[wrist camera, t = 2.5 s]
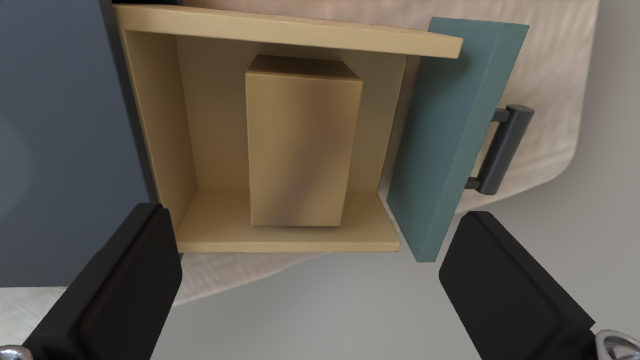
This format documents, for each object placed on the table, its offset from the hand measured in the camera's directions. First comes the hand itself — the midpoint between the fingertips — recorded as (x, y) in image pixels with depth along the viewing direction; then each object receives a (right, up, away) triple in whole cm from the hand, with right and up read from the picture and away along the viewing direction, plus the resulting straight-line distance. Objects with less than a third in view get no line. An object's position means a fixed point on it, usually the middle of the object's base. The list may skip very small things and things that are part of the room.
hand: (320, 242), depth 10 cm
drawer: (+1, +6, +11) cm, 12 cm away
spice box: (-1, +6, +9) cm, 11 cm away
